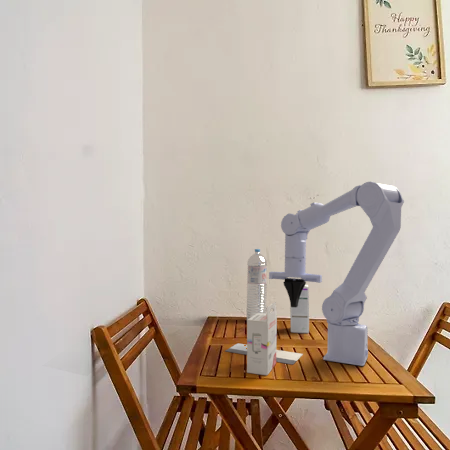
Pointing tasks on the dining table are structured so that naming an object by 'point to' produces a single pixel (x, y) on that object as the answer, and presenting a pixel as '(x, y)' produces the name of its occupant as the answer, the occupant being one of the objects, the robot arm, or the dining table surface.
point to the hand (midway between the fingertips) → (294, 306)
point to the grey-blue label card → (238, 349)
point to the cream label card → (287, 357)
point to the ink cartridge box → (262, 341)
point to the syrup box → (301, 313)
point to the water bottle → (256, 284)
